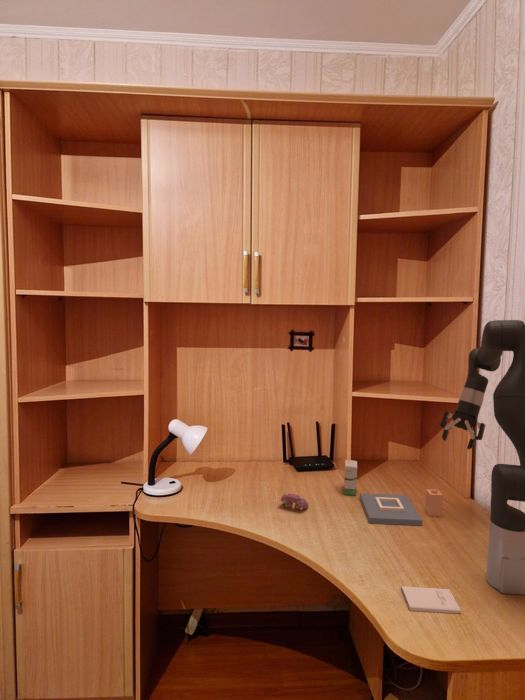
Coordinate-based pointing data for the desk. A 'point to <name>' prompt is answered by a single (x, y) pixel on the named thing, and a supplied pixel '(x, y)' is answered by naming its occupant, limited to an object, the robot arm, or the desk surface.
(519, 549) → the robot arm
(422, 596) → the external hard drive
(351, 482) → the ink box
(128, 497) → the desk surface
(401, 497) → the board
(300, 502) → the purple lumpy oblong
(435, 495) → the block
